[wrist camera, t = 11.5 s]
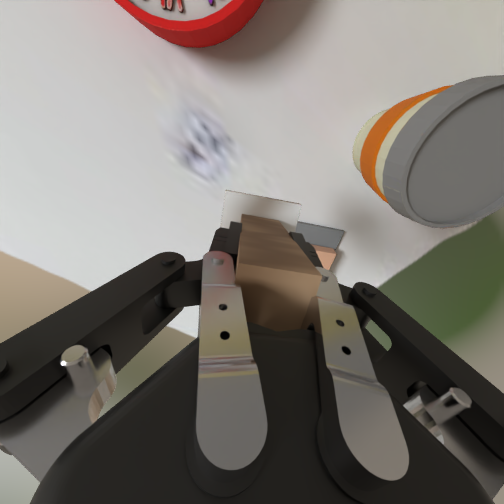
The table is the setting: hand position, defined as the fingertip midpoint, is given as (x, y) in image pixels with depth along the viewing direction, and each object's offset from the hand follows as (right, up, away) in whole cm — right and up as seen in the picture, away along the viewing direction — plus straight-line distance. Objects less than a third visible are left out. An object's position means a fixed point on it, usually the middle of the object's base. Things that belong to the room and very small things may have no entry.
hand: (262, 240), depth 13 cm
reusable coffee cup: (+19, +15, +18) cm, 30 cm away
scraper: (0, +1, +5) cm, 5 cm away
